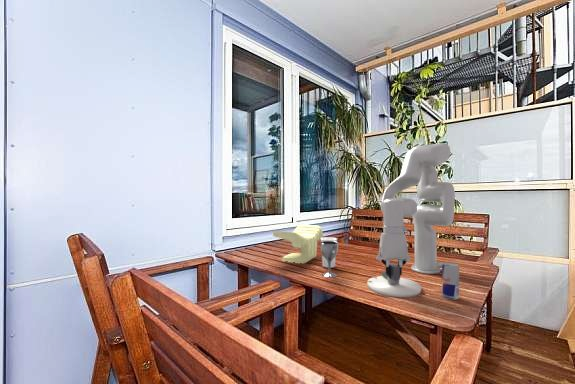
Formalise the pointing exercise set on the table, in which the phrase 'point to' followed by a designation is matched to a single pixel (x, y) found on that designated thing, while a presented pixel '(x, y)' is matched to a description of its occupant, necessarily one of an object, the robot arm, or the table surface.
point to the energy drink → (450, 281)
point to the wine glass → (329, 254)
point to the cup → (323, 256)
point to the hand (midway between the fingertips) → (393, 275)
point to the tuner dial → (394, 287)
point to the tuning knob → (393, 274)
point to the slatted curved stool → (302, 242)
